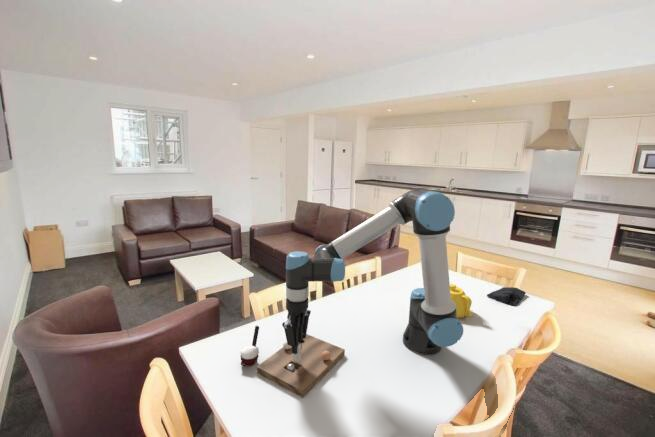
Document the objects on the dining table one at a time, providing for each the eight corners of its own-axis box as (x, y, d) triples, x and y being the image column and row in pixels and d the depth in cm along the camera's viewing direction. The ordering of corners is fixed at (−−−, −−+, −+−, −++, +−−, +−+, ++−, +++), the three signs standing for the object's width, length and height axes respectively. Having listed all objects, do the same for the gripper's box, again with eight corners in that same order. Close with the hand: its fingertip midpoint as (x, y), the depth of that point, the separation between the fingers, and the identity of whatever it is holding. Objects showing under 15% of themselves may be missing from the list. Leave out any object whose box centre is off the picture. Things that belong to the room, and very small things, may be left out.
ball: (293, 364, 107) (289, 374, 106) (298, 366, 109) (294, 376, 108) (287, 361, 109) (282, 370, 107) (291, 363, 111) (287, 372, 110)
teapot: (416, 304, 162) (418, 279, 160) (438, 296, 172) (440, 273, 169) (459, 326, 142) (462, 298, 139) (481, 316, 152) (484, 289, 149)
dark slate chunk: (530, 297, 175) (531, 289, 174) (513, 308, 161) (515, 299, 161) (501, 288, 187) (503, 280, 186) (484, 297, 173) (485, 289, 172)
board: (344, 355, 119) (344, 349, 118) (302, 398, 97) (302, 391, 97) (302, 338, 129) (302, 332, 129) (256, 373, 108) (256, 366, 107)
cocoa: (243, 373, 108) (241, 343, 105) (234, 363, 113) (233, 334, 110) (266, 360, 115) (265, 332, 112) (258, 352, 119) (256, 324, 116)
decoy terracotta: (332, 358, 113) (332, 350, 112) (327, 363, 110) (327, 355, 109) (324, 355, 114) (325, 347, 114) (320, 360, 112) (320, 352, 111)
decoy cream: (293, 347, 118) (293, 340, 118) (288, 352, 116) (288, 344, 115) (287, 345, 120) (287, 337, 120) (281, 349, 118) (281, 341, 117)
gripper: (300, 288, 113) (299, 347, 117) (275, 301, 102) (276, 365, 106) (317, 293, 109) (316, 354, 113) (293, 308, 98) (293, 374, 102)
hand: (296, 359), depth 110 cm, fingers closed
